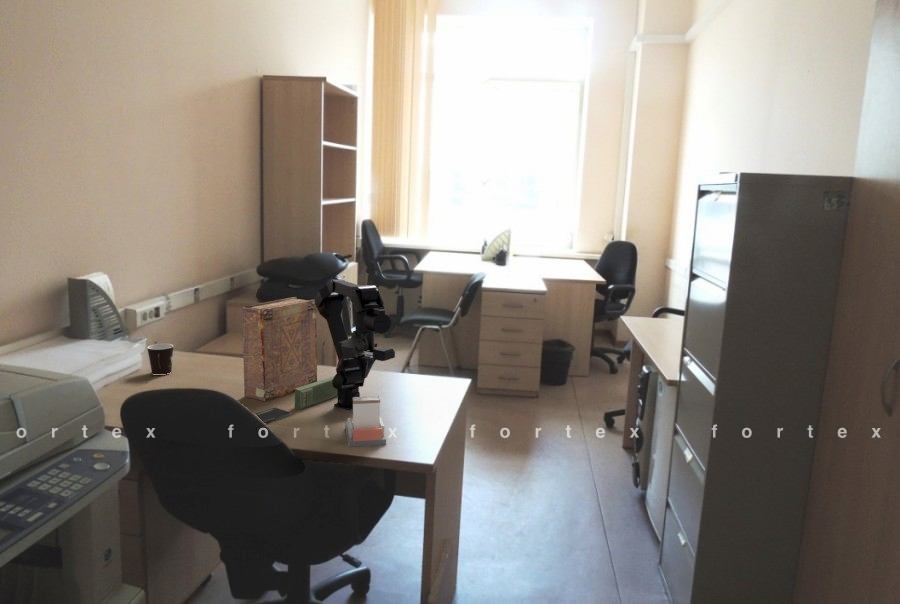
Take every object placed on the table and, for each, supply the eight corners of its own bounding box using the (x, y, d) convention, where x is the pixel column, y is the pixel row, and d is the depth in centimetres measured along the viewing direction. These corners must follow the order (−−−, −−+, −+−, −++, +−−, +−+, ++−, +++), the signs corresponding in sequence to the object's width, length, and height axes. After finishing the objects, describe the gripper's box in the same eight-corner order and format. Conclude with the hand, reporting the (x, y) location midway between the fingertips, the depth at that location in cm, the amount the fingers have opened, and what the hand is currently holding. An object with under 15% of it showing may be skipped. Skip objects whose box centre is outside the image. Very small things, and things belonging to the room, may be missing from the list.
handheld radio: (292, 408, 200) (346, 388, 221) (300, 410, 198) (353, 391, 219) (293, 388, 199) (347, 370, 219) (300, 390, 197) (354, 372, 218)
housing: (345, 428, 184) (345, 413, 183) (379, 426, 186) (380, 411, 185) (348, 446, 171) (348, 430, 170) (386, 444, 173) (386, 428, 172)
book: (297, 378, 230) (296, 296, 225) (317, 382, 226) (316, 299, 221) (244, 396, 208) (241, 306, 203) (265, 402, 204) (263, 310, 199)
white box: (352, 431, 176) (352, 397, 175) (378, 430, 178) (378, 396, 176) (353, 436, 173) (353, 401, 172) (379, 434, 175) (380, 399, 173)
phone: (233, 420, 185) (274, 407, 197) (233, 424, 185) (274, 410, 197) (251, 427, 181) (292, 412, 193) (251, 430, 181) (292, 416, 193)
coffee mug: (157, 369, 236) (156, 343, 234) (179, 370, 235) (178, 344, 233) (138, 378, 225) (136, 350, 223) (161, 379, 223) (159, 352, 222)
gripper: (322, 327, 188) (323, 378, 190) (372, 336, 178) (372, 390, 181) (347, 321, 197) (347, 370, 200) (396, 329, 187) (395, 380, 190)
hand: (364, 377), depth 192 cm, fingers closed
